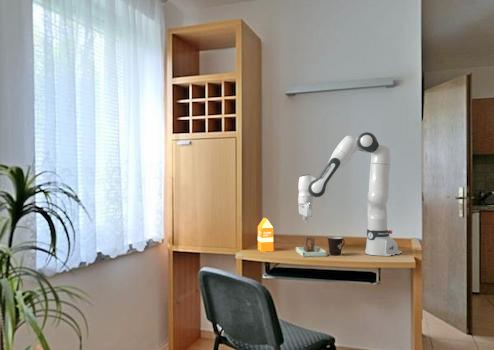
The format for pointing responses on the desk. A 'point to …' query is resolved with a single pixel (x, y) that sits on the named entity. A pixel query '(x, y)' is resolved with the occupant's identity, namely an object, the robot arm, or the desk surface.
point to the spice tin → (307, 245)
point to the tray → (317, 253)
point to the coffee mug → (335, 245)
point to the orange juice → (265, 236)
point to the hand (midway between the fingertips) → (305, 222)
